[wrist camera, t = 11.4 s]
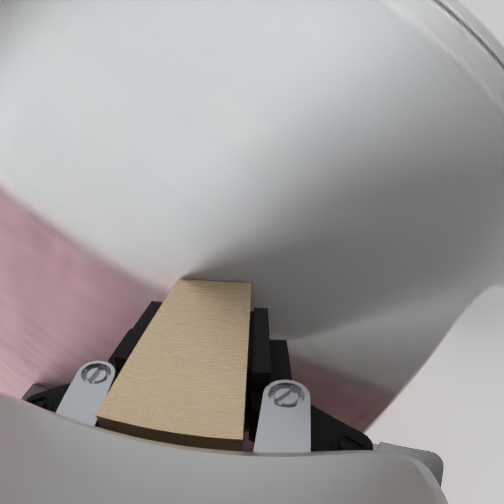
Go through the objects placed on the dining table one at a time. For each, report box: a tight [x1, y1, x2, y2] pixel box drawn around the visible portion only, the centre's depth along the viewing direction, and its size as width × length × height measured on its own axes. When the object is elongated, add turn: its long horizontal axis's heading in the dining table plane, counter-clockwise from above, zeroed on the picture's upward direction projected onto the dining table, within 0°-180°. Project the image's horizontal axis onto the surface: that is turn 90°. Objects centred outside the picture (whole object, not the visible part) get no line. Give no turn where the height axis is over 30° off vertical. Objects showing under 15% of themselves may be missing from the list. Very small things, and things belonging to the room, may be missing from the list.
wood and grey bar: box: [95, 279, 252, 452], centre depth 12 cm, size 24×3×8 cm, turn 178°
